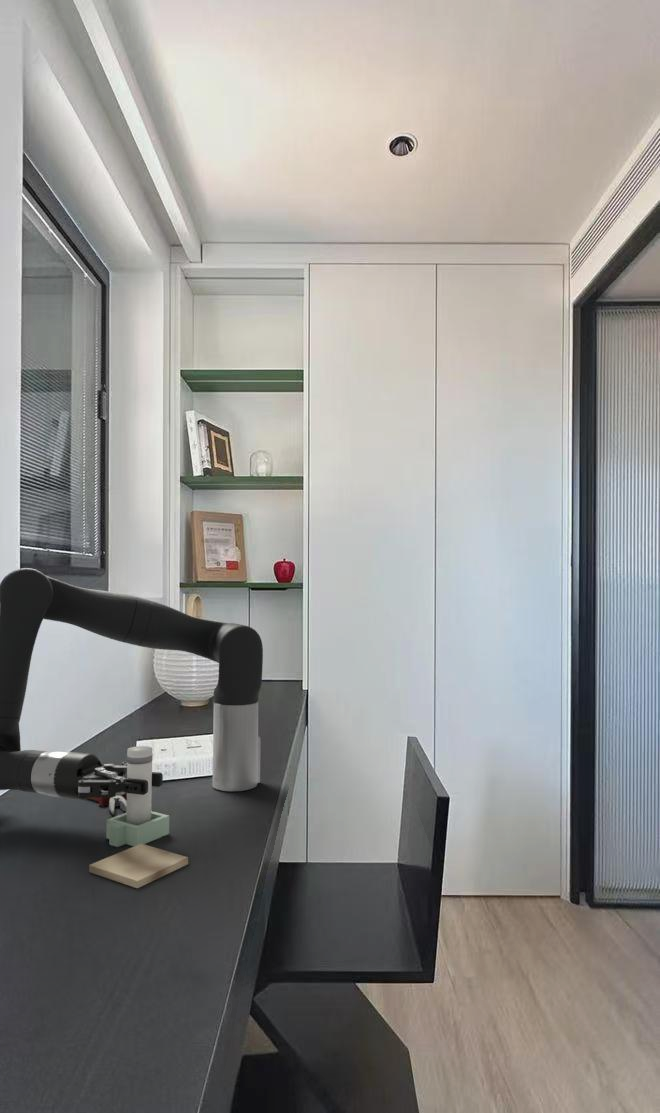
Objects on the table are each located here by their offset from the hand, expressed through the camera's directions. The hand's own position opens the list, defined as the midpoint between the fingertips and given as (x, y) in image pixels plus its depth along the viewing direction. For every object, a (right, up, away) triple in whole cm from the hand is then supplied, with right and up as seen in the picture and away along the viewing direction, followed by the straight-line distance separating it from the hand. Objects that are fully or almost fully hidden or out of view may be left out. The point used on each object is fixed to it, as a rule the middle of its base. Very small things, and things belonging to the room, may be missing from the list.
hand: (154, 783), depth 117 cm
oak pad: (+1, -9, -12) cm, 15 cm away
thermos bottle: (-3, -9, +1) cm, 9 cm away
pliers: (-14, -10, +20) cm, 26 cm away
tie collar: (-3, -9, +1) cm, 9 cm away
